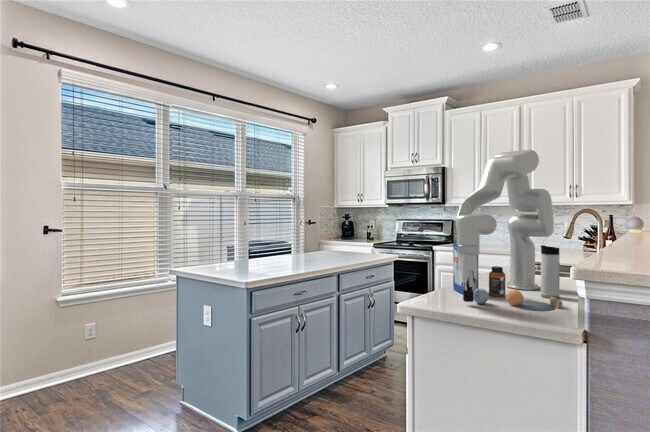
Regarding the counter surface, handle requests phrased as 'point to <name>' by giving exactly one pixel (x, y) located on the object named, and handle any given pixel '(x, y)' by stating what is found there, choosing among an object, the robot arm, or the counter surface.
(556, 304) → the rail
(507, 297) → the orange ball
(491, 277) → the supplement bottle
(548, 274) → the travel mug
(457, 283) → the milk carton
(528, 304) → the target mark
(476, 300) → the light blue ball
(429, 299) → the counter surface
